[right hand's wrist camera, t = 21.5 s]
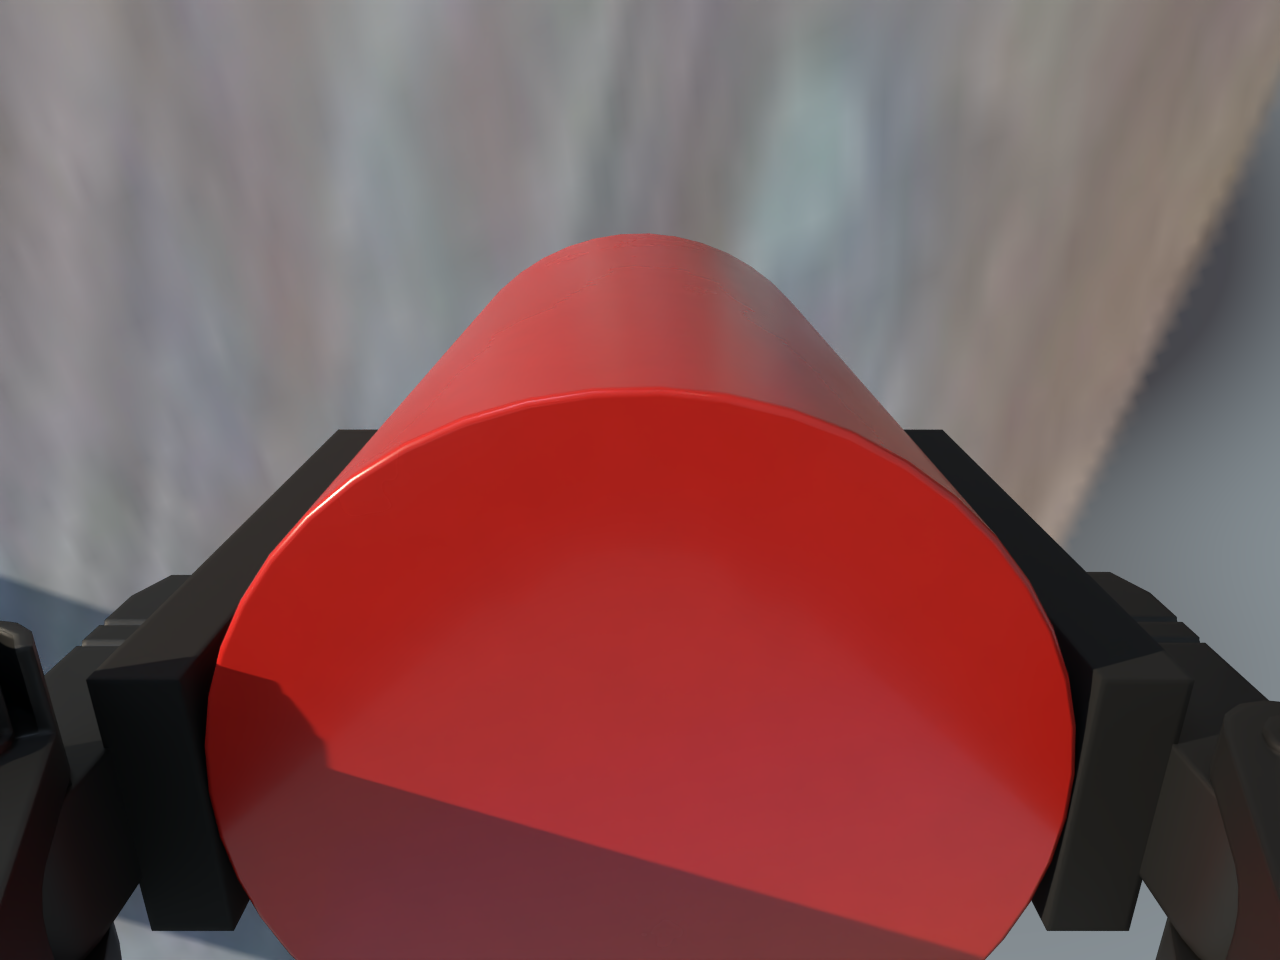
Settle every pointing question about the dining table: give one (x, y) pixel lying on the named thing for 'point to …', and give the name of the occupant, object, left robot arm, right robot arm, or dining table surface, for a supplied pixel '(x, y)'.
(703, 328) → the red cylinder
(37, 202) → the dining table surface
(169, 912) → the right robot arm
